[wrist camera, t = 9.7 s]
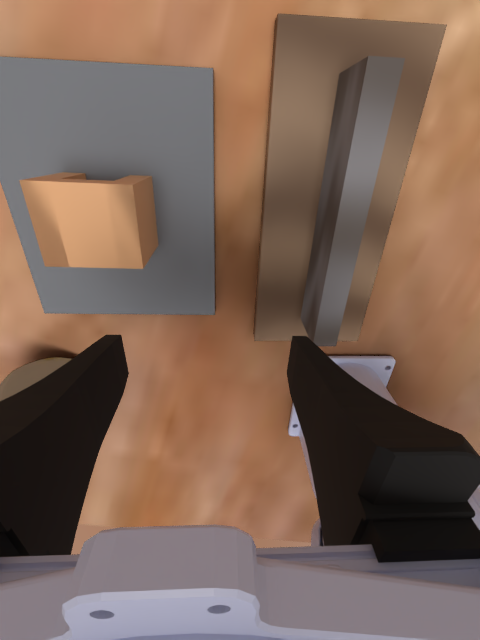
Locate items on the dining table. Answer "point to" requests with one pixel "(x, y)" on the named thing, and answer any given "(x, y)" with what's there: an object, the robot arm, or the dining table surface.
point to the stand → (335, 166)
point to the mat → (117, 173)
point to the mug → (29, 375)
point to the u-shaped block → (92, 220)
